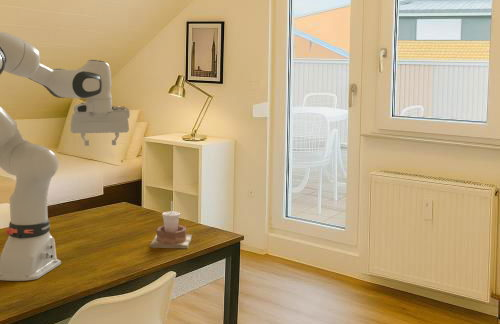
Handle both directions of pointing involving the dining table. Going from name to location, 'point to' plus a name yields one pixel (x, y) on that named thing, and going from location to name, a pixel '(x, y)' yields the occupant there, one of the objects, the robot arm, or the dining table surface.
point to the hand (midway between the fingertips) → (100, 145)
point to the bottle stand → (171, 238)
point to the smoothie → (171, 220)
